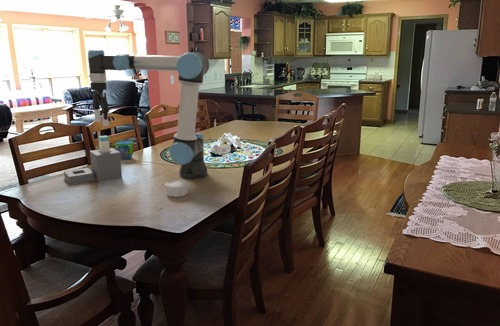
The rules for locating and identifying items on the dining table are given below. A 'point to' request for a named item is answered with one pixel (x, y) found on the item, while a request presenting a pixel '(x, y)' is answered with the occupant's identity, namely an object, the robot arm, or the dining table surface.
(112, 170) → the block
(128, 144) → the snack cup
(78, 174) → the plate
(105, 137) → the plug
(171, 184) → the ramekin
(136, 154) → the dining table surface
